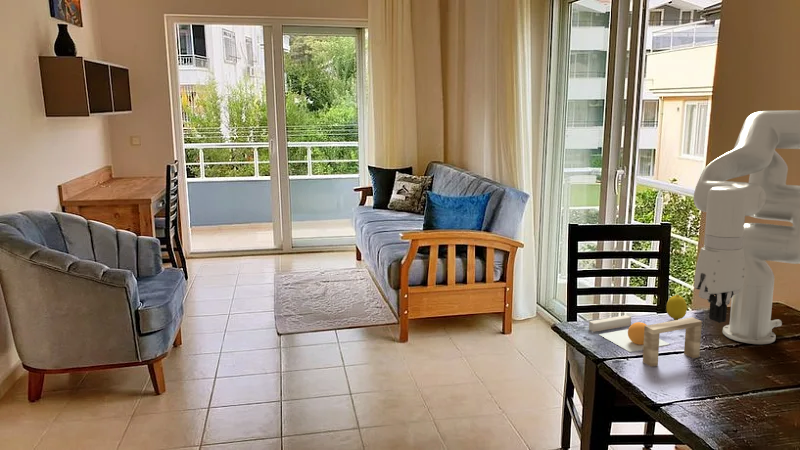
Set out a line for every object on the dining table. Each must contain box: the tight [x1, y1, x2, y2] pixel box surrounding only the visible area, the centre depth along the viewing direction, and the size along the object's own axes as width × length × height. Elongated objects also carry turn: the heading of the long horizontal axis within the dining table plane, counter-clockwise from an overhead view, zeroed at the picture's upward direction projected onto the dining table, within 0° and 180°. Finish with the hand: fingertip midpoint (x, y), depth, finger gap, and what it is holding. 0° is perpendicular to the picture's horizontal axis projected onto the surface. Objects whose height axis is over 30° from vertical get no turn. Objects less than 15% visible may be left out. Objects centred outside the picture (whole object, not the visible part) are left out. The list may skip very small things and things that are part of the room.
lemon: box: [665, 294, 688, 321], centre depth 175 cm, size 6×6×8 cm
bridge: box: [642, 316, 703, 368], centre depth 149 cm, size 3×15×10 cm, turn 108°
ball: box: [628, 321, 648, 345], centre depth 159 cm, size 6×6×6 cm
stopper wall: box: [588, 314, 632, 333], centre depth 172 cm, size 13×2×2 cm, turn 108°
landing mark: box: [598, 328, 671, 353], centre depth 163 cm, size 13×13×1 cm
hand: (717, 320), depth 134 cm, fingers closed
